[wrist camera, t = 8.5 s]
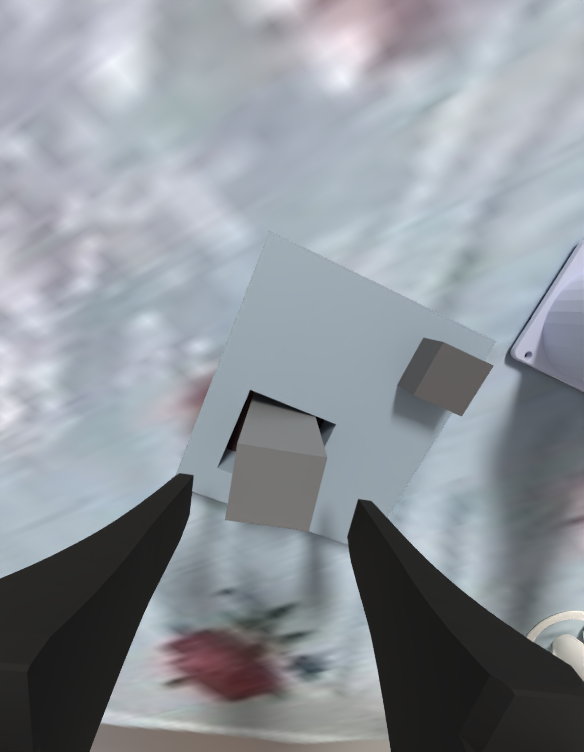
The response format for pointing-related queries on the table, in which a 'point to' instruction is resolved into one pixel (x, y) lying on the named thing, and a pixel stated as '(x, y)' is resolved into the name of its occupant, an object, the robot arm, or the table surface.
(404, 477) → the socket plate
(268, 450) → the grey rectangular block
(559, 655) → the white ring and cylinders
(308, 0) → the table surface
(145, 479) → the table surface
